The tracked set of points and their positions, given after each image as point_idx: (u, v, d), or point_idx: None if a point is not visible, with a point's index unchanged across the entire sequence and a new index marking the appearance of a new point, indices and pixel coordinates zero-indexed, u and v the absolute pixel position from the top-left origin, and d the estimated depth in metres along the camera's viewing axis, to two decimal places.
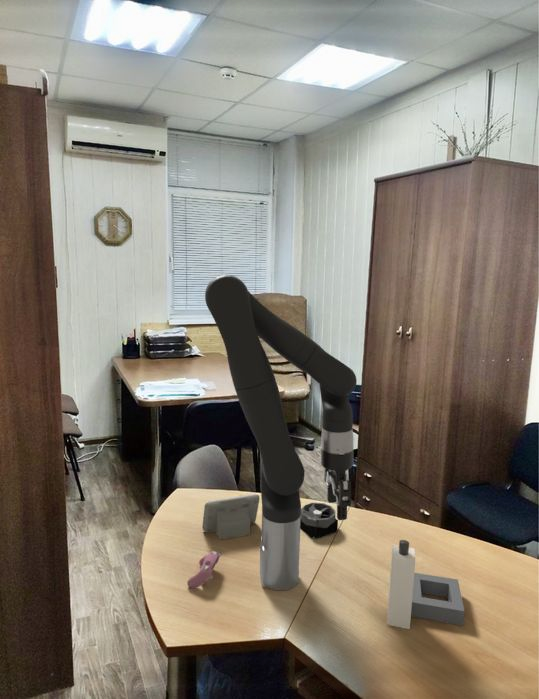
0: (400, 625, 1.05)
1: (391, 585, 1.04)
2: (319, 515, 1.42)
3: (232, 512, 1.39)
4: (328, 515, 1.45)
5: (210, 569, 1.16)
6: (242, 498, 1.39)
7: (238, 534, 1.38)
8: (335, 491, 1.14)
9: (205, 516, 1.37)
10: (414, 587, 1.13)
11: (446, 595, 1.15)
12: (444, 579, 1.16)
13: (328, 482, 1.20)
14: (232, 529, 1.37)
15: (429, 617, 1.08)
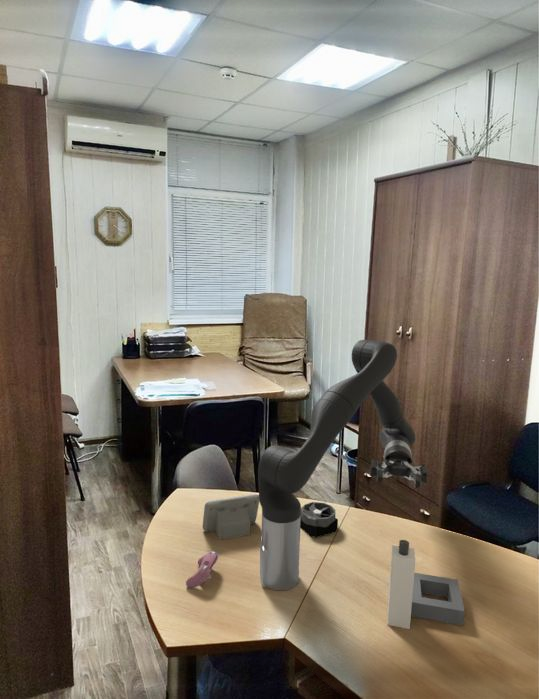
0: (400, 625, 1.05)
1: (391, 585, 1.04)
2: (319, 514, 1.43)
3: (232, 512, 1.39)
4: (328, 514, 1.45)
5: (208, 569, 1.16)
6: (242, 497, 1.39)
7: (238, 534, 1.38)
8: None
9: (205, 516, 1.37)
10: (414, 587, 1.13)
11: (446, 595, 1.15)
12: (444, 579, 1.16)
13: (387, 466, 1.28)
14: (232, 529, 1.37)
15: (429, 617, 1.08)
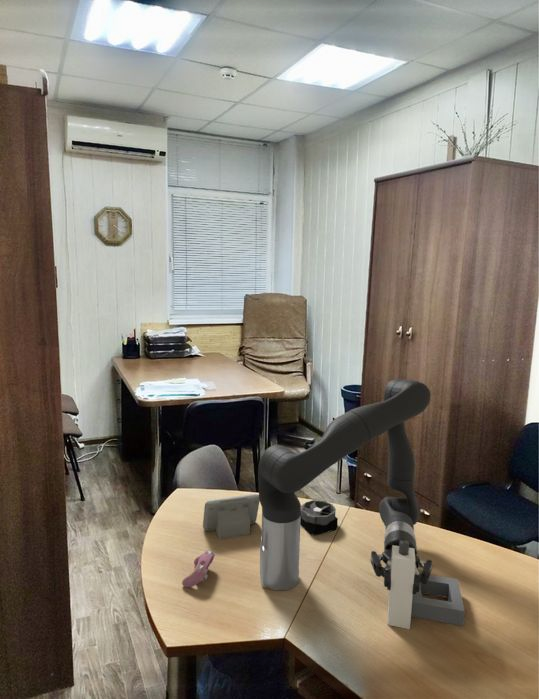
0: (400, 625, 1.05)
1: (391, 585, 1.04)
2: (319, 512, 1.44)
3: (232, 511, 1.39)
4: (329, 513, 1.46)
5: (205, 569, 1.16)
6: (243, 497, 1.39)
7: (238, 533, 1.39)
8: None
9: (205, 515, 1.38)
10: None
11: (446, 595, 1.15)
12: (444, 579, 1.16)
13: None
14: (232, 528, 1.38)
15: (429, 617, 1.08)
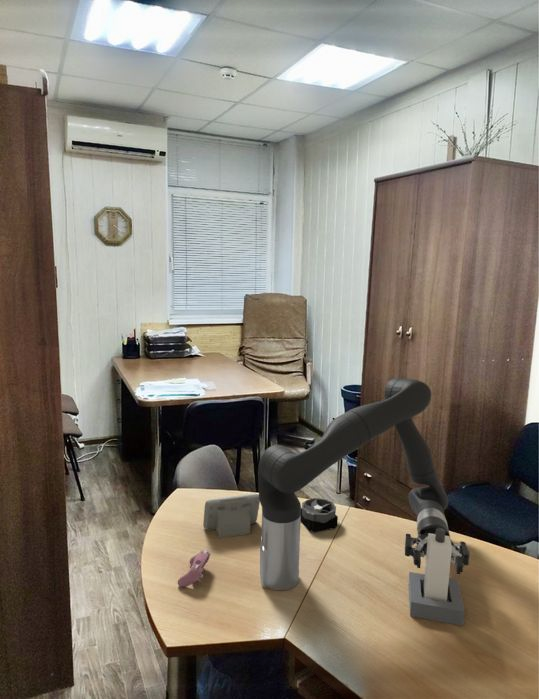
0: None
1: (428, 571, 1.09)
2: (319, 510, 1.45)
3: (232, 511, 1.39)
4: (329, 511, 1.47)
5: (200, 568, 1.16)
6: (243, 497, 1.39)
7: (238, 533, 1.39)
8: None
9: (205, 514, 1.38)
10: (414, 587, 1.13)
11: None
12: None
13: (424, 545, 1.15)
14: (232, 527, 1.38)
15: (429, 617, 1.08)
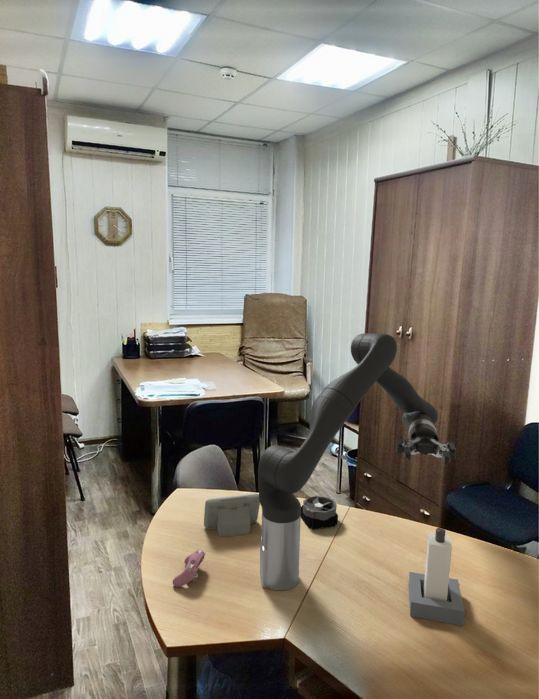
0: None
1: (428, 571, 1.09)
2: (320, 508, 1.46)
3: (233, 510, 1.40)
4: None
5: (195, 568, 1.17)
6: (243, 496, 1.40)
7: (238, 532, 1.39)
8: None
9: (206, 513, 1.39)
10: (414, 587, 1.13)
11: None
12: None
13: (414, 443, 1.26)
14: (232, 527, 1.38)
15: (429, 617, 1.08)
